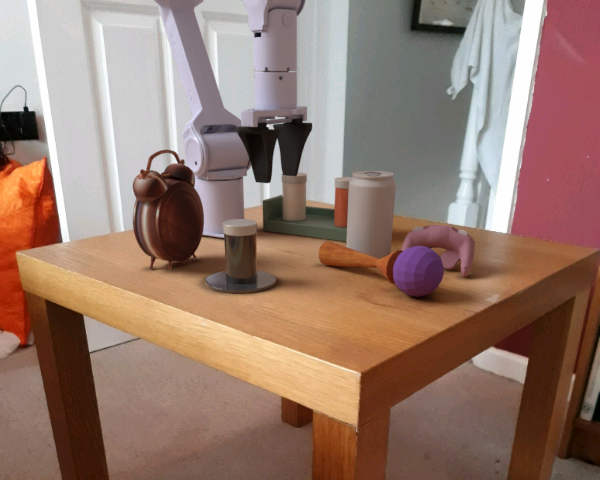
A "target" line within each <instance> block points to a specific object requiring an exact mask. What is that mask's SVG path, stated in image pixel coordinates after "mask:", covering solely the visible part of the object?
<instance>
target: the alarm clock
mask: <svg viewBox="0 0 600 480" xmlns="http://www.w3.org/2000/svg"><path fill="white" fill-rule="evenodd" d="M163 154H171V155H173V156H174V158H175V161H176V162H177V163H176V162H175V163H171V164H169V165H167V166H166V167H165V169H164V171H162V172H161V173H160V172H159V171H156V170H151V167H152V163H153V161H154V159H156V157H158V156H161V155H163ZM147 159H148V160H147V164H146V168H145V169H144V168H141V169H140V171H139V173H138V174H137V175H136V176H135V178H134V179H133V181H132V190H133V194H134V197H135V202H134V205H133V211H132V229H133V233H134V234H133V235H134V238H135V241H136V242H137V245H138V247H139V248H140V249H141V251H142V252H143V253H144V254H145V255H146V256H148V257H150V265H149V269H150V270H153V269H154V264H155V262H156V260H160V261H164V262H167V263H168V265H167V269H169V270H170V269H172V262H179V263H181V262H185V261H187V260H189V259H191V258H193V259H197V255H196V254H195V253H196V252H197V250H198V249H199V246H200V244H201V241H202V237H203V235H202V234H203V228H204V212H203V206H202V202H201V199H200V196H199V194H198V192H197V191H196V190H195V188H194V187H195V175H194V173H193V171H192V170H191V169H190V168H189V167H188V165H185V163H186V160H185V159H183V158H182V159H180V157H179V155H178V153H177V152H176V151H174V150H171V149H160V150H158V151H155V152H154V153H153V154H151V155H149V157H148V158H147Z"/></svg>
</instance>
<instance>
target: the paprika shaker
mask: <svg viewBox="0 0 600 480" xmlns="http://www.w3.org/2000/svg"><path fill="white" fill-rule="evenodd" d="M352 177H353V176H339V177H336V178H334V204H333V205H334V208H333V209H334V225H335V226H337V227H344V228H347V218H348V193H349V182H350V180H351V179H352Z"/></svg>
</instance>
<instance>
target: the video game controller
mask: <svg viewBox="0 0 600 480" xmlns="http://www.w3.org/2000/svg"><path fill="white" fill-rule="evenodd" d="M475 243H476V242H475V240H474V238H473V236H472V235H470V234H469V233H468V232H467V231H466V230H464V229H460V228H456V227H454V226H451V225H445V224H430V225H425V226H415V227H414V228H412V230H410V231H409V232H408V233H407V234H406V236H405V237H404V240H403V242H402V244H401V248H400V250H402V251H404V250H405V249H408V248H410V247H414V246H425V247H428V248H430V249H444V250H445V251H444V252H443V253H442V254H441V255H440V258H441V260H442V264H443V268H444V270H445V271H452V270H454V269H455V267H456V266H457V265H458V264H459V262H460V271H461V272H460V273H461V277H463V278H466V277H468V276H469V274H470V273H471V271H472V267H473V263H474V259H475V247H476V245H475Z"/></svg>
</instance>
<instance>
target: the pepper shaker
mask: <svg viewBox="0 0 600 480" xmlns="http://www.w3.org/2000/svg"><path fill="white" fill-rule="evenodd" d="M223 233H224V238H223V241H224V243H223V244H224V262H225V263H224V264H225V271H226V280H227V281H228V282H230V283H234V284H248V283H253V282H255V281H257V271H258V250H257V245H258V244H257V241H258V240H257V233H258V222H257V221H256V220H254V219H248V218H245V219H232V220H227V221H224V222H223Z"/></svg>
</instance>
